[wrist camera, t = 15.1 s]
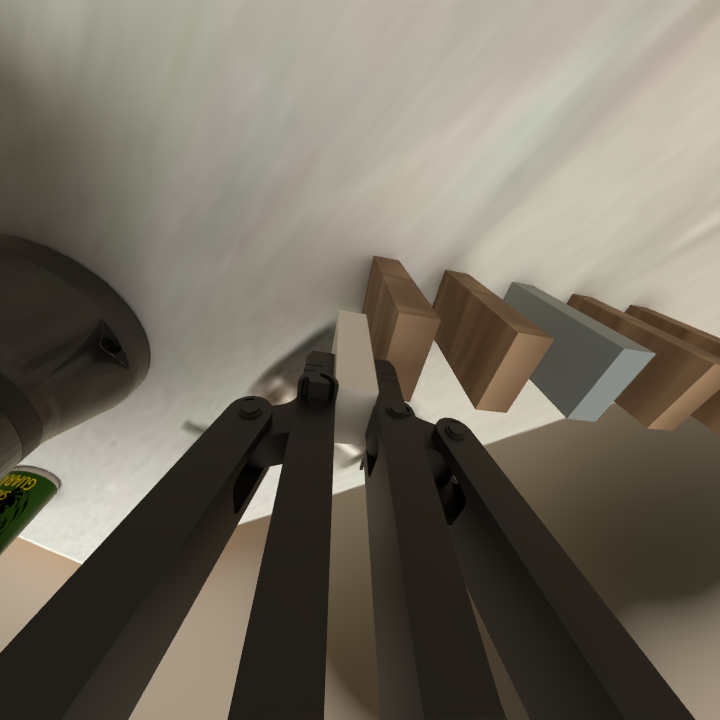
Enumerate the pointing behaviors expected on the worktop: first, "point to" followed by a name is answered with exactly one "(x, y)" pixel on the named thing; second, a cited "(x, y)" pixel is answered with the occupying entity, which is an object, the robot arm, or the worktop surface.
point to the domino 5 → (716, 409)
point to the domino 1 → (399, 321)
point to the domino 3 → (578, 355)
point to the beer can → (23, 500)
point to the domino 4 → (658, 369)
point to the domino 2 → (486, 342)
